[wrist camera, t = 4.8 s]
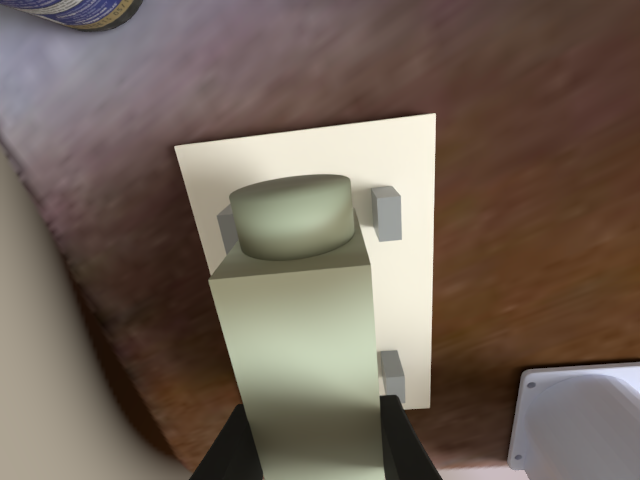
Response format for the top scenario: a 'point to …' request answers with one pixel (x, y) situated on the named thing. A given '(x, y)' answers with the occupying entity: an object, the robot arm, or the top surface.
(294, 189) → the tall single-stud brick
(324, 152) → the cradle jig
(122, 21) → the pill bottle
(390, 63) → the top surface
